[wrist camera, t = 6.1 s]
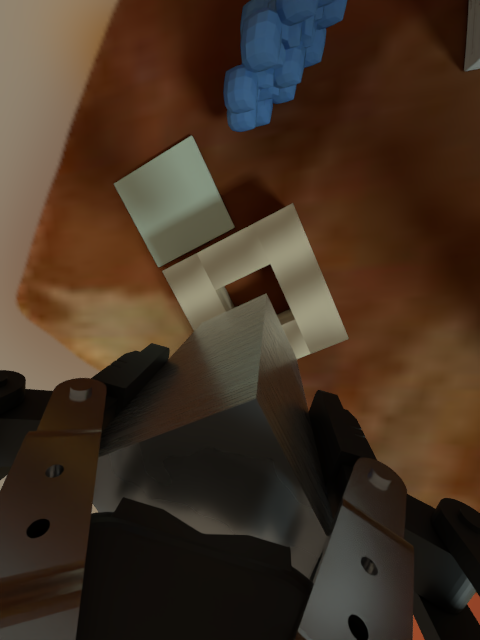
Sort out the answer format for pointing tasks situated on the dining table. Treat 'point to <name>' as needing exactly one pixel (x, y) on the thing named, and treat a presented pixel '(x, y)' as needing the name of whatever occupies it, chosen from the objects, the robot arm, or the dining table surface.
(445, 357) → the dining table surface
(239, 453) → the peg
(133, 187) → the mat
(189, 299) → the holder
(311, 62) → the grapes
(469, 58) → the supplement box
